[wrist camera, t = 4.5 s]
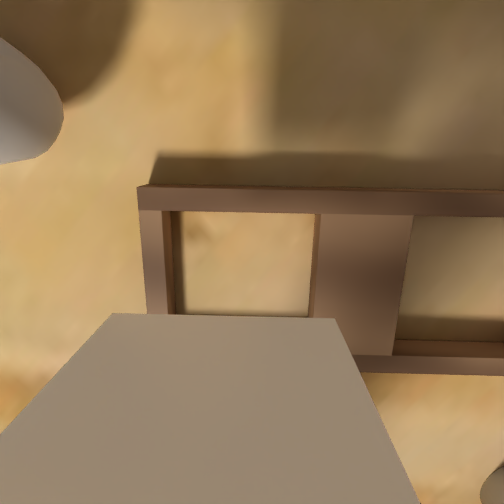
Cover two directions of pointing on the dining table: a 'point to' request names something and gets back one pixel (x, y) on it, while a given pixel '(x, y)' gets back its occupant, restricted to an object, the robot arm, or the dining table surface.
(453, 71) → the dining table surface
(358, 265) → the walnut caddy
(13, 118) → the donut
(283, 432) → the white rounded cube
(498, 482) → the salt cellar
